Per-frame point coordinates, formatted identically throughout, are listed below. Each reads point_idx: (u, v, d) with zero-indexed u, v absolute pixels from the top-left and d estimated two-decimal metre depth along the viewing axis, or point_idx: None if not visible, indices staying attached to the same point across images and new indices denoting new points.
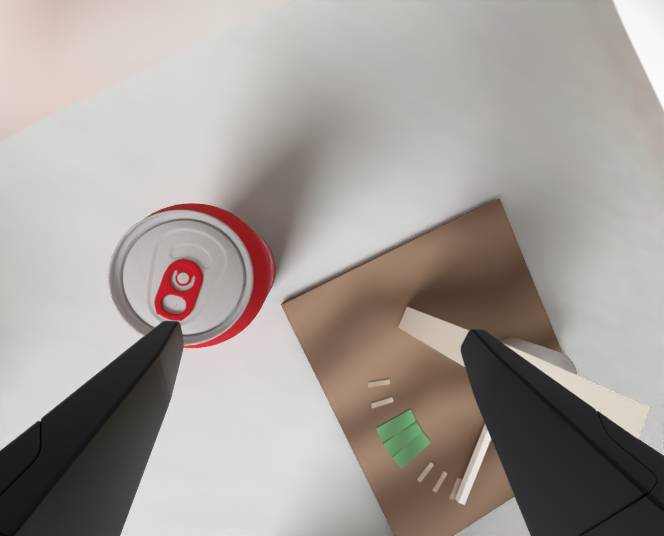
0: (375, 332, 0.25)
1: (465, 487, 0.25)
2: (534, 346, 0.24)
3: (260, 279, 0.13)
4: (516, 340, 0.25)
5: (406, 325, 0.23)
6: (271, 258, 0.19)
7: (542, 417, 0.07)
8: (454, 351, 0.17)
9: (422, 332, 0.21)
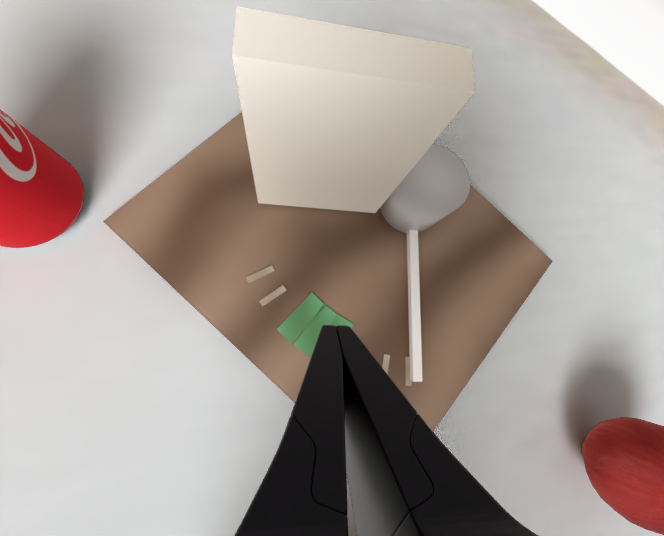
0: (234, 218, 0.20)
1: (413, 359, 0.20)
2: None
3: None
4: None
5: None
6: (14, 124, 0.15)
7: (362, 421, 0.07)
8: None
9: None
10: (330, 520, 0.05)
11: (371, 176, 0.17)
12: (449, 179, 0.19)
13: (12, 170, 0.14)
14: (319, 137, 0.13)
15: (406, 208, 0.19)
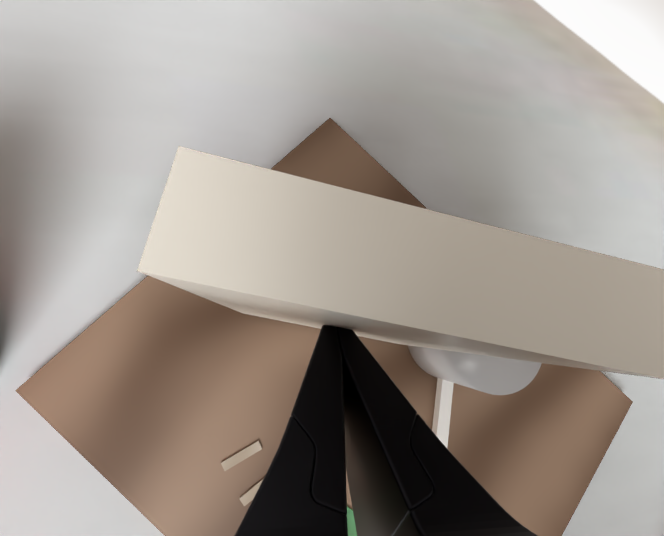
0: (206, 371, 0.15)
1: None
2: None
3: None
4: None
5: None
6: None
7: (362, 421, 0.07)
8: None
9: None
10: (330, 520, 0.05)
11: (404, 341, 0.11)
12: None
13: None
14: (330, 323, 0.08)
15: (446, 370, 0.13)
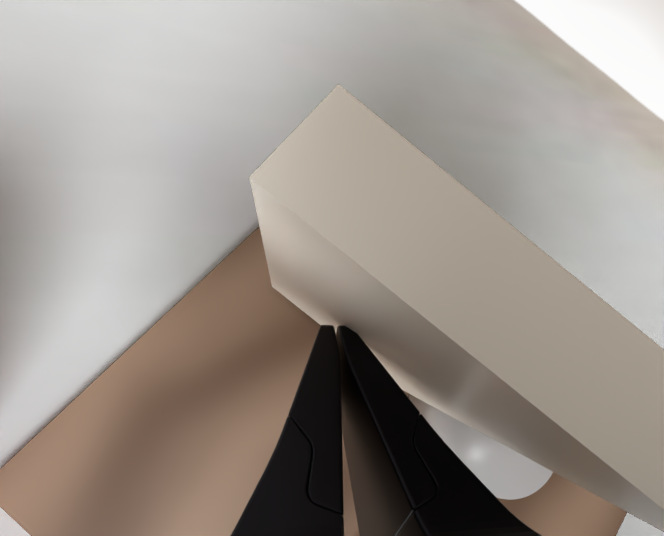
0: (192, 456, 0.13)
1: None
2: None
3: None
4: None
5: None
6: None
7: (365, 421, 0.07)
8: None
9: None
10: (326, 520, 0.05)
11: (418, 388, 0.10)
12: None
13: None
14: (368, 329, 0.07)
15: None
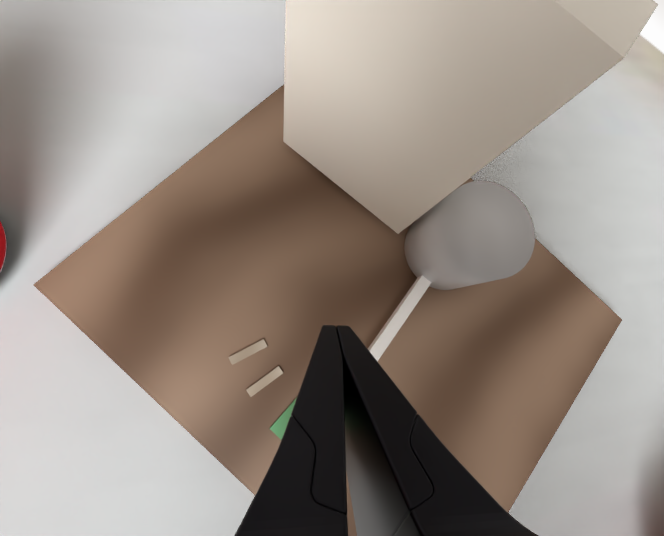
0: (214, 275, 0.15)
1: None
2: None
3: None
4: None
5: None
6: None
7: (362, 421, 0.07)
8: None
9: None
10: (330, 520, 0.05)
11: (410, 168, 0.12)
12: (504, 240, 0.13)
13: None
14: (367, 52, 0.09)
15: (431, 242, 0.14)
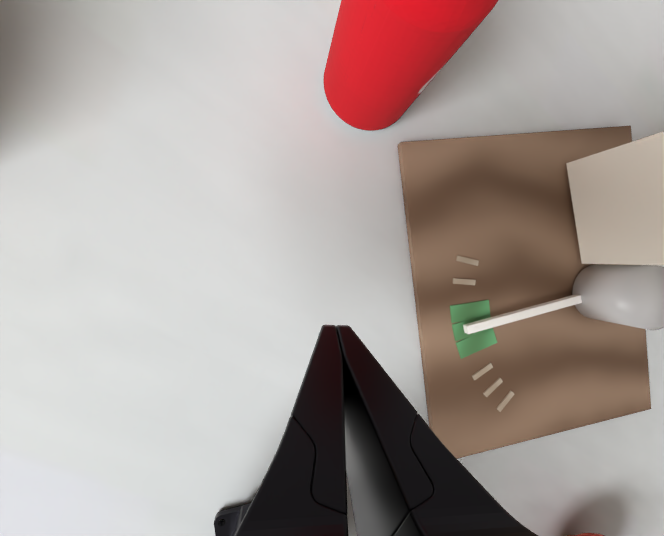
0: (479, 208, 0.23)
1: (483, 322, 0.23)
2: None
3: None
4: None
5: (586, 157, 0.23)
6: None
7: (362, 421, 0.07)
8: None
9: None
10: (330, 520, 0.05)
11: (653, 238, 0.20)
12: (656, 309, 0.21)
13: (426, 84, 0.17)
14: None
15: (616, 281, 0.22)
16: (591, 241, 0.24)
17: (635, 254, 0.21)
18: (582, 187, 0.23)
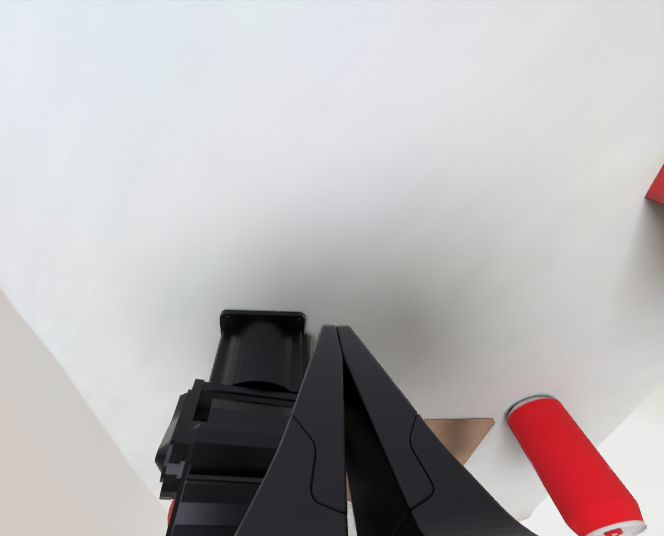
0: None
1: None
2: None
3: None
4: None
5: None
6: None
7: (362, 421, 0.07)
8: None
9: None
10: (330, 520, 0.05)
11: None
12: None
13: (533, 467, 0.33)
14: None
15: None
16: None
17: None
18: None
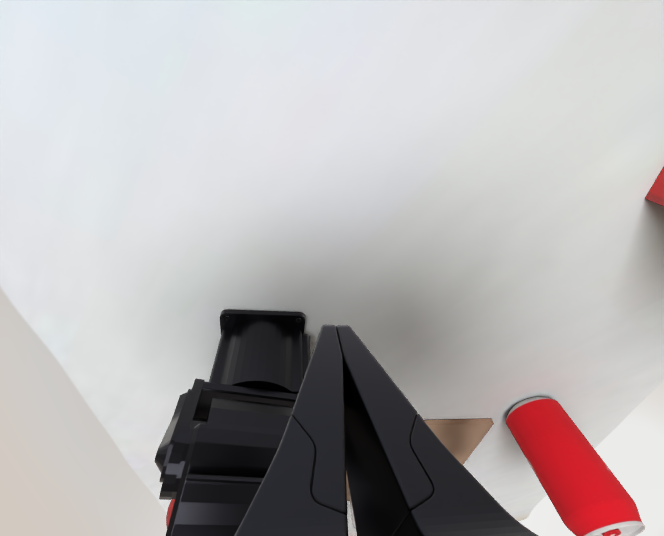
0: None
1: None
2: None
3: None
4: None
5: None
6: None
7: (362, 421, 0.07)
8: None
9: None
10: (330, 520, 0.05)
11: None
12: None
13: (532, 467, 0.33)
14: None
15: None
16: None
17: None
18: None
